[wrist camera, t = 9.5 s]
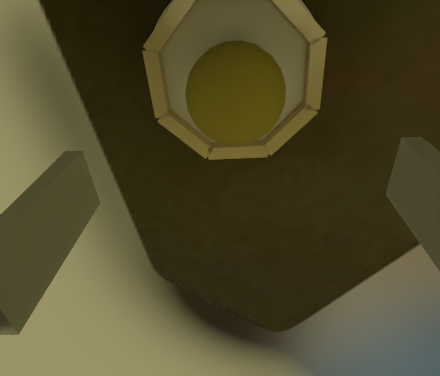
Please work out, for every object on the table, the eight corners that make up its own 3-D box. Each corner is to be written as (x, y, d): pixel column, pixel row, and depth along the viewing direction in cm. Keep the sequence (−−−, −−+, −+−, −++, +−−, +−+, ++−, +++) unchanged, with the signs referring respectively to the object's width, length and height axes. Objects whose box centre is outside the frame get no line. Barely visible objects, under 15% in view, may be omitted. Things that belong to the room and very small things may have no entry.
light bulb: (268, 113, 28) (281, 167, 20) (194, 106, 28) (177, 158, 20) (281, 32, 25) (305, 56, 16) (197, 24, 25) (177, 44, 16)
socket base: (132, -20, 24) (124, -20, 22) (332, -38, 23) (339, -40, 21) (165, 155, 32) (161, 164, 30) (313, 148, 31) (317, 157, 29)
